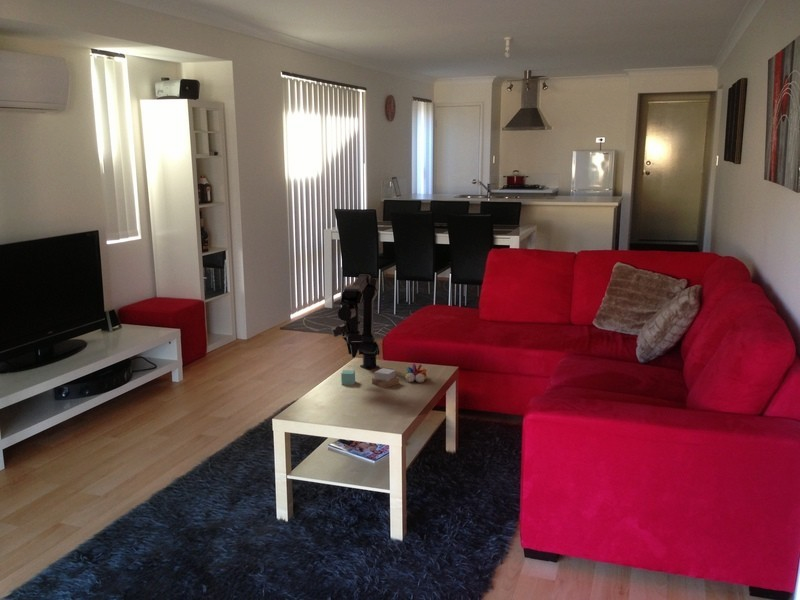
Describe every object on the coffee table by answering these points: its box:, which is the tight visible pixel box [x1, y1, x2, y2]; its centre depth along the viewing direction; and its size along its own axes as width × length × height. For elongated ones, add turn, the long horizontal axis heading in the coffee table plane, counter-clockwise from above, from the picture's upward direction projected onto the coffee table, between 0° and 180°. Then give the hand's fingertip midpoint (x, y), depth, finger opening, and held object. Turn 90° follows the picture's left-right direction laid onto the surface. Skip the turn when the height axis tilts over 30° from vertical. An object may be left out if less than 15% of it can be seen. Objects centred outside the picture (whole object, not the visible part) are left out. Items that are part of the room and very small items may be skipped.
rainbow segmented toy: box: [404, 363, 428, 384], centre depth 298 cm, size 8×10×7 cm
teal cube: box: [340, 369, 356, 386], centre depth 295 cm, size 5×5×5 cm
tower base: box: [371, 376, 400, 389], centre depth 294 cm, size 8×8×3 cm
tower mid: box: [374, 367, 397, 381], centre depth 294 cm, size 6×6×3 cm
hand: (351, 355), depth 292 cm, fingers open, 9 cm apart
